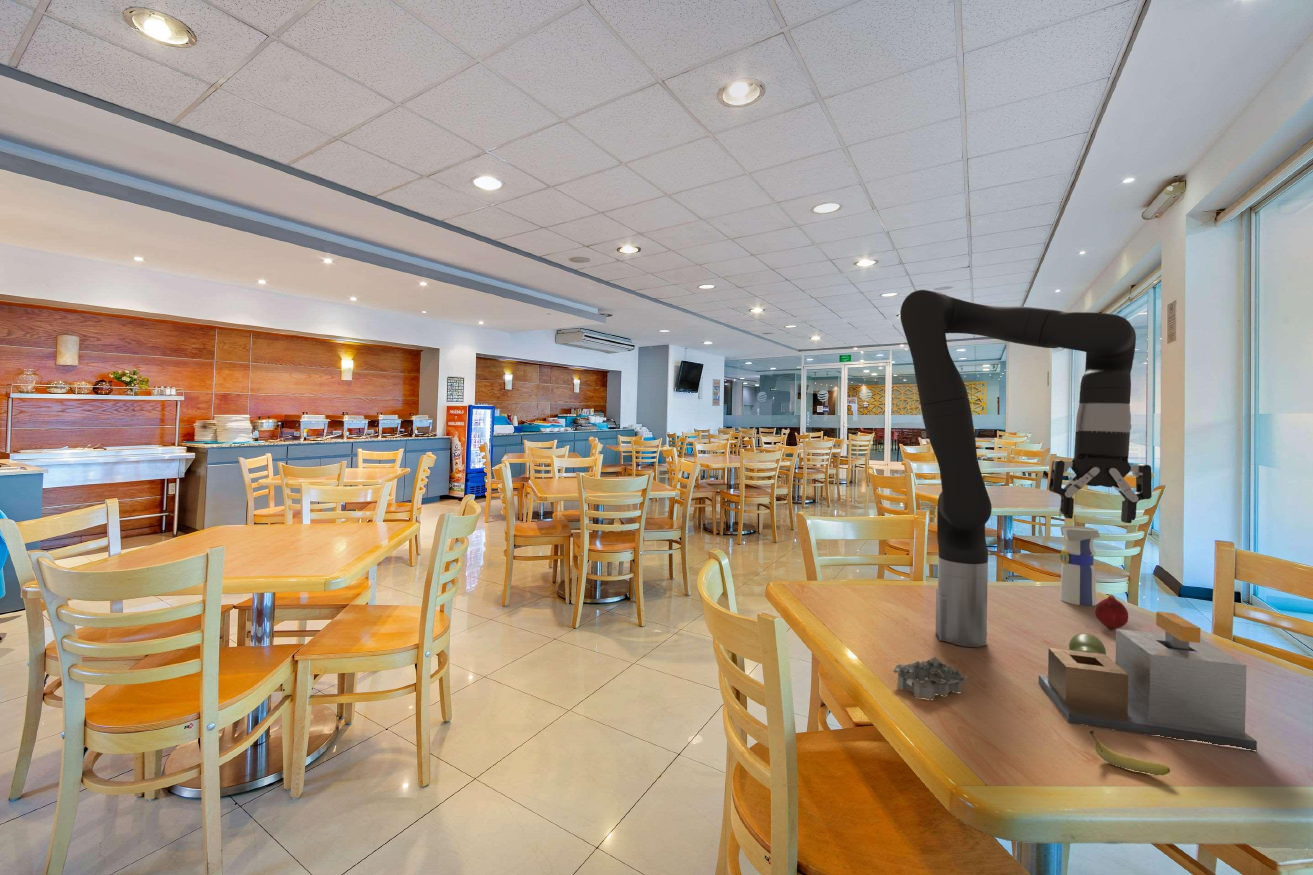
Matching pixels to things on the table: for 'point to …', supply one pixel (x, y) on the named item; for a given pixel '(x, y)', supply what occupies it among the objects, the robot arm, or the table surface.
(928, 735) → the table surface
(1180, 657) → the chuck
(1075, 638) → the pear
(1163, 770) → the banana
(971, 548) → the robot arm
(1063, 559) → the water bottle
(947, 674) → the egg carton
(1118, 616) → the onion
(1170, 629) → the key
